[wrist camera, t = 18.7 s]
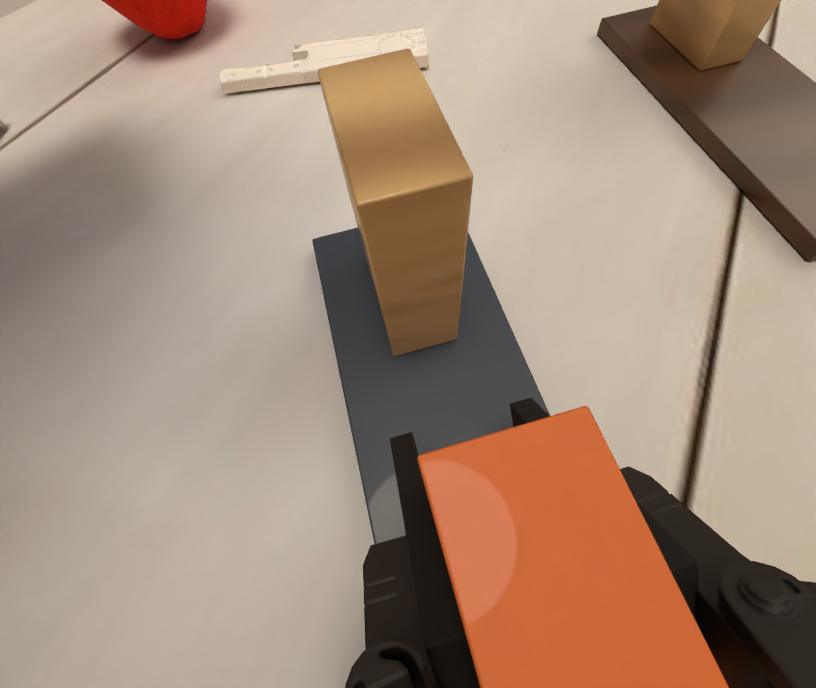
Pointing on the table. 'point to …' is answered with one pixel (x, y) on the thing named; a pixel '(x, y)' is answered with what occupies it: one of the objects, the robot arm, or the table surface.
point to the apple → (163, 15)
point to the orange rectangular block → (559, 564)
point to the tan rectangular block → (712, 28)
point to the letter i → (403, 193)
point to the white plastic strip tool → (324, 60)
